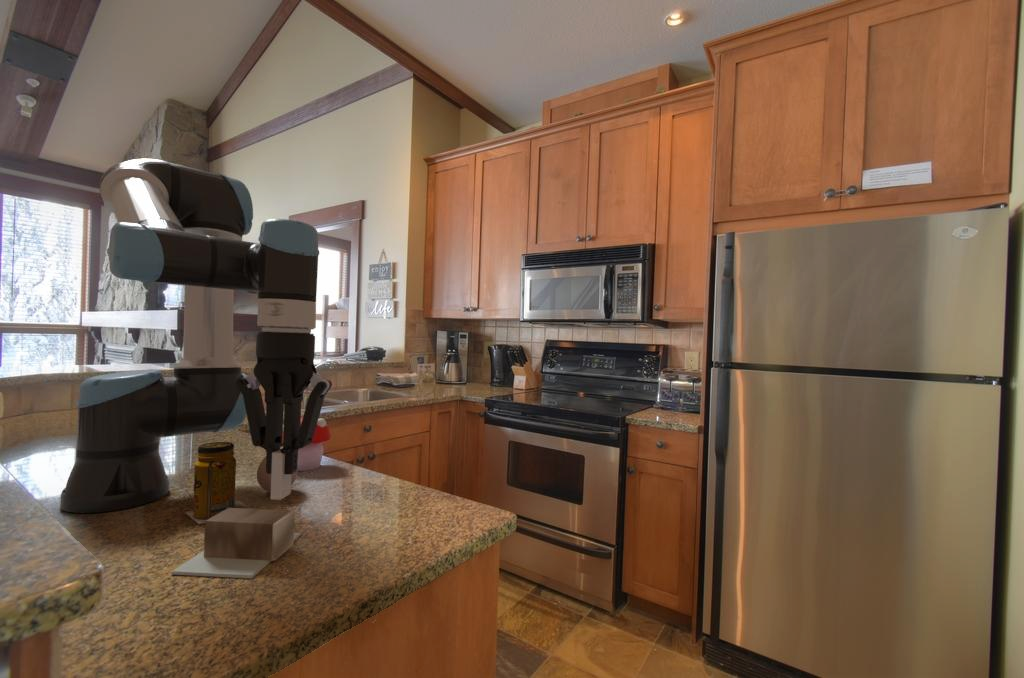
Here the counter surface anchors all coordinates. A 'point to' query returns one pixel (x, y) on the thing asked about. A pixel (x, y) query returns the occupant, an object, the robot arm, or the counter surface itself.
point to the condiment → (214, 481)
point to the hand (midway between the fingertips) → (280, 496)
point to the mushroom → (313, 448)
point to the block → (249, 534)
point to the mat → (222, 566)
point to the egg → (268, 476)
